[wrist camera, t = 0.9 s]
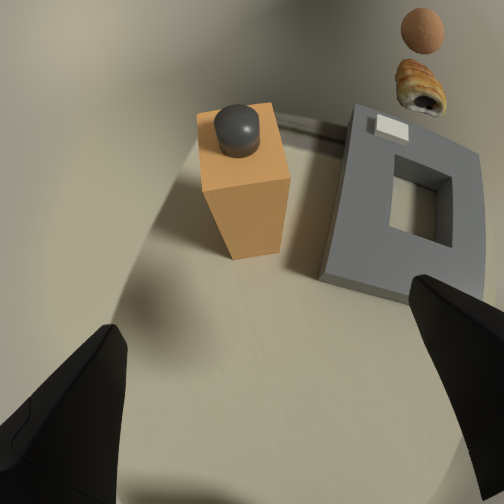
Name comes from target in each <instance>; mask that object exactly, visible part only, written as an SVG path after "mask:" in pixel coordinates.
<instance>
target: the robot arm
mask: <svg viewBox="0 0 504 504" xmlns="http://www.w3.org/2000/svg"><path fill="white" fill-rule="evenodd" d="M408 302H409V306H410V308H411V311H412V313H413V316H414V318H415V321H416V323H417V326H418V329H419V331H420V334H421V337H422V339H423V342H424V344H425V346H426V348H427V351H428V353H429V355H430V357H431V359H432V361H433V363H434V365H435V368H436V370H437V372H438V374H439V376H440V379H441V381H442V383H443V385H444V388H445V390H446V393H447V395H448V397H449V400H450V402H451V405H452V407H453V410H454V412H455V415H456V417H457V420H458V423H459V425H460V428H461V431H462V434H463V436H464V439H465V442H466V445H467V448H468V450H469V455H470V458H471V461H472V464H473V468H474V471H475V475H476V478H477V482H478V485H479V489H480V493H481V497H482V500H483V501H484V500H487V499H489V498H490V497H493V496H495V495H497V494H498V493H500V492H502V491H504V312H502V311H500V310H499V309H497V308H495V307H493V306H491V305H489V304H487V303H485V302H483V301H481V300H479V299H477V298H475V297H473V296H471V295H469V294H467V293H465V292H463V291H461V290H459V289H456V288H454V287H452V286H450V285H448V284H446V283H444V282H442V281H440V280H438V279H435V278H433V277H431V276H429V275H427V274H421V275H417V276H415V277H413V279H412V283H411V287H410V292H409V296H408ZM127 352H128V348H127V343H126V341H125V339H124V338H123V336H122V334H121V332H120V331H119V329H118V327H117V326H116V325H115V324H106V325H102V326H101V327H100V328H99V329H98V330H97V331H96V332H95V333H94V334H93V335H92V336H91V337H90V338H88V339H87V340H86V341H85V342H84V343H83V344H82V345H81V346H80V347H79V348H78V349H77V350H76V351H75V352H74V353H73V354H72V355H71V356H70V357H69V358H68V359H67V360H66V361H65V362H64V363H63V364H62V365H61V366H60V367H59V368H58V369H57V370H55V371H54V372H53V373H52V374H51V375H50V376H49V377H48V378H47V380H46V381H45V382H44V383H43V384H42V385H41V386H40V387H39V388H38V389H37V390H36V391H35V392H34V393H33V394H32V395H31V397H29V398H28V399H27V400H26V401H25V402H24V403H23V404H22V405H21V406H20V407H19V408H18V409H17V410H16V411H15V412H14V413H13V414H12V415H11V416H10V417H9V418H8V419H7V420H6V421H5V422H4V423H3V424H2V425H1V426H0V504H116V485H117V466H118V453H119V441H120V431H121V422H122V414H123V406H124V399H125V389H126V368H127Z"/></svg>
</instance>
